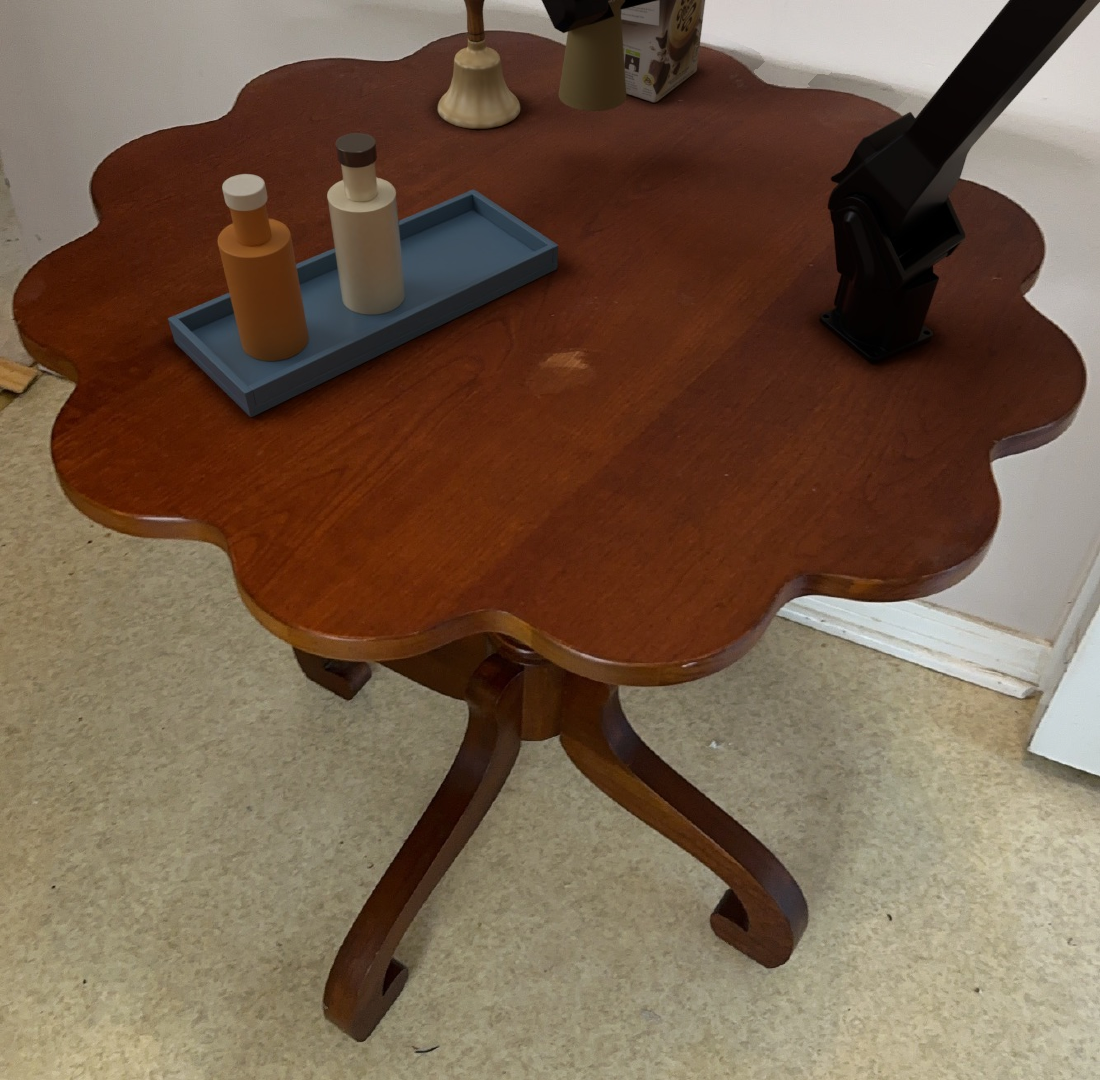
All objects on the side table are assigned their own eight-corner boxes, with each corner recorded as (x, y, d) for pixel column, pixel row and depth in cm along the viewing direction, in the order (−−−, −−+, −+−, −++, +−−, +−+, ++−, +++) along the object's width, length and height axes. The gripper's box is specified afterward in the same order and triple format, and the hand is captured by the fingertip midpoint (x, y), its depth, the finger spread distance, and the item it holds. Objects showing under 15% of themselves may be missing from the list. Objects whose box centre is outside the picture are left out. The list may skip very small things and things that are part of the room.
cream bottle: (416, 303, 86) (403, 149, 77) (357, 322, 84) (337, 167, 75) (388, 271, 89) (373, 119, 79) (331, 288, 87) (308, 135, 78)
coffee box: (657, 105, 111) (674, -67, 99) (603, 88, 113) (613, -83, 101) (699, 71, 116) (720, -96, 104) (646, 56, 118) (661, -110, 106)
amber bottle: (319, 348, 82) (292, 192, 73) (256, 369, 80) (220, 212, 71) (293, 313, 85) (265, 158, 75) (232, 333, 83) (194, 176, 74)
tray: (474, 212, 97) (473, 188, 95) (557, 269, 91) (558, 245, 89) (174, 342, 84) (167, 318, 82) (250, 418, 78) (244, 393, 76)
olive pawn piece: (627, 111, 95) (636, -22, 87) (558, 110, 95) (560, -23, 87) (625, 80, 99) (633, -50, 91) (558, 79, 99) (560, -51, 91)
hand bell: (459, 136, 106) (452, -39, 94) (424, 100, 110) (412, -71, 99) (535, 118, 108) (537, -54, 97) (497, 83, 113) (494, -85, 101)
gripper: (732, -226, 82) (624, -101, 96) (541, -182, 74) (452, -53, 87) (794, -82, 84) (678, 20, 97) (613, -23, 75) (515, 79, 89)
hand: (584, 14), depth 93 cm, fingers closed on olive pawn piece, 5 cm apart
